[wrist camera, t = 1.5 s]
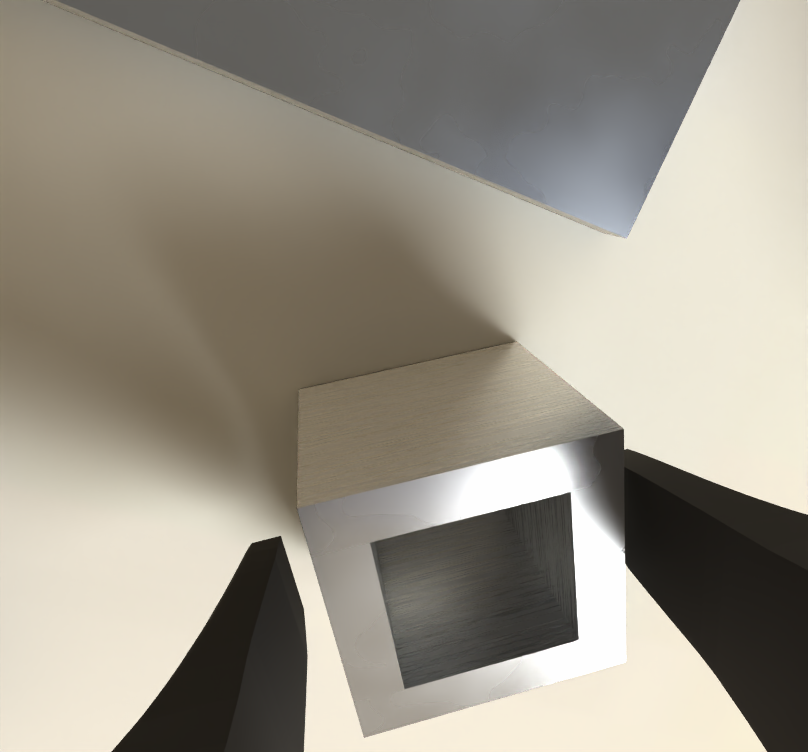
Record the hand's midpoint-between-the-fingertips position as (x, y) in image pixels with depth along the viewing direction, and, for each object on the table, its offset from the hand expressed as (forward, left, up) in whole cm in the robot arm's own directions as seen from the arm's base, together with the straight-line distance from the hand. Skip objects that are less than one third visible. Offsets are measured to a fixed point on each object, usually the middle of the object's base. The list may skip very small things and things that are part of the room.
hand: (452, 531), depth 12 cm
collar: (0, 0, -3) cm, 3 cm away
